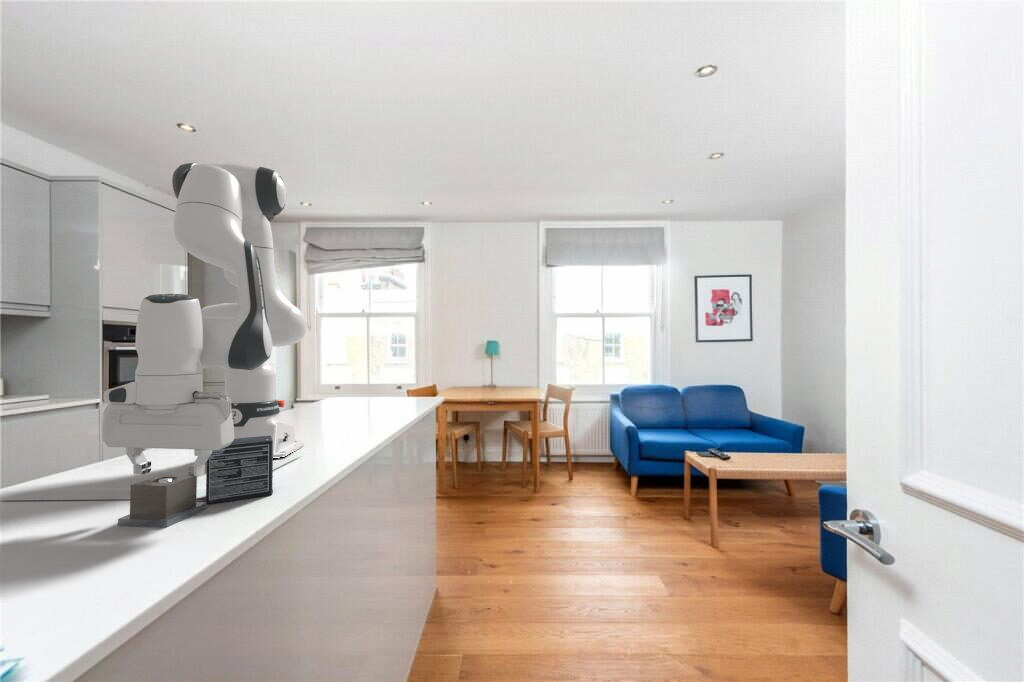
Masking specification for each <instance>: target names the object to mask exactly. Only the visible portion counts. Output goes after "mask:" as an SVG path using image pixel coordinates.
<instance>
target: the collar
mask: <svg viewBox="0 0 1024 682" xmlns="http://www.w3.org/2000/svg"><path fill="white" fill-rule="evenodd" d="M164 478H172V481H169V482H167V483H158V480H160V479H164ZM197 481H198V476H189V475H188V474H179V473H161V474H160V475H156V476H153V477H149V478H147V479H143V480H141V481H138V482H135V483H132V484H130V493H129V494H130V496H129V501H130V502H129V514H130V517H150V518H167V517H169V516H172V515H174V514H176V513H178V512H181V511H183V510H185V509H187V508H189V507H192V506H194V505H196V502H197V492H198V491H197V487H198V482H197Z"/></svg>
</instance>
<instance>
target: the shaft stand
mask: <svg viewBox="0 0 1024 682" xmlns="http://www.w3.org/2000/svg"><path fill="white" fill-rule="evenodd" d="M169 481H172V478H164V479H160V480H158V483H167V482H169ZM207 506H208V505H207V502H205V501H204V502H202V501H196V505H194V506H192V507H189V508H187V509H185V510H183V511H181V512H178V513H176V514H174V515H172V516H169V517H167V518H150V517H130V513H129V514H126V515H124V516H122V517H119V518H118V519H117V526H123V527H125V526H126V527H127V526H128V527H151V528H153V527H154V528H168V527H171V526H173V525H175V524H178V523H179V522H181V521H183V520H186V519H187V518H190V517H191V516H193V515H196V514H198V513H200V512H202V511H204V510H206V509H207Z"/></svg>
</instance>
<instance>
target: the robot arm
mask: <svg viewBox="0 0 1024 682" xmlns="http://www.w3.org/2000/svg"><path fill="white" fill-rule="evenodd" d="M171 180H172V181H171V182H172V189H173V193H174V195H175V197H176V199H177V201H176V207H175V210H174V211H175V213H174V217H173V233H174V237H175V238H176V239H175V240H176V241H177V242H178V243H179V245H180V246H181V247H182V248H183V250H185V251H186V252H187V253H188V254H190V255H191V256H192V257H194V258H196V259H198V260H200V261H202V262H204V263H207V264H209V265H213V266H215V267H217V268H220V269H223V276H224V279H225V280H226V281H227V282H228V283H229V284H230V285H232V286H233V287H236V288H237V290H238V291H237V292H238V299H239V303H236V302H231V303H230V302H224V303H217V304H211V305H206V306H204V307H203V308H202V307H201V304H200V300H199V298H198V297H196V296H194V295H190V294H184V293H183V294H182V293H164V294H163V293H157V294H150V295H148V296H145V297H143V298H142V300H141V302H140V305H139V309H138V313H137V319H136V328H135V350H136V353H137V356H138V362H137V366H136V369H135V371H134V373H135V374H134V375H135V376H134V378H135V379H134V381H131V382H129V383H125V384H122V385H118V386H116V387H113V388H108V389H107V390H105V391H104V392H103V401H104V403H106V404H107V405H106V406H105V408H104V410H103V413H102V422H101V423H102V425H101V437H102V438H101V439H102V441H103V443H104V445H106V446H107V447H108V448H126V451H125V452H126V453H125V454H126V456H127V457H128V459H129V461H130V462H131V464H132V465H133V467H132V468H133V471H132V472H133V474H134V475H146V474H149V473H150V472H151V471H152V467H151V466H152V461H149V460H147V458H146V456H145V453H144V452H145V451H147V449H166V450H167V449H169V450H194V451H193V452H194V456H195V457H196V459H195V460H194V463H193V464H191V465H188V466H187V467H188V468H187V471H188V472H187V475H189V476H197V477H200V476H203V475H204V474H205V473H206V464H207V460H208V459H209V457H210V455H211V454H212V450H219V449H222V448H225V447H227V446H229V445H230V444H231V443H232V442H233V440H234V439H236V438H247V437H258V436H269V435H270V436H271V437H272V440H273V457H282V456H286V455H288V454H290V453H291V454H293V453H295V452H296V451H298V450H300V449H301V448H302V447H305V443H304V442H303V441H301V440H300V441H299V440H295V436H296V435H295V427H294V425H293V424H292V423H291V422H290V421H288V420H287V419H286V418H285V417H283V416H282V415H281V414H280V413H281V410H280V408H285V406H286V401H285V399H276V398H277V397H276V392H277V389H276V386H277V373H276V370H275V369H274V367H272V366H271V365H270V364H269V363H268V362H267V361H268V360H269V359H270V358H271V355H272V350H273V348H274V347H277V348H278V347H284V346H286V347H287V346H291V345H295V344H298V343H299V342H301V340H303V338H304V336H305V334H306V332H307V328H308V327H307V326H308V324H307V320H306V316H305V314H304V313H303V311H302V310H300V309H299V307H297V306H296V305H294V304H292V302H291V301H289V299H288V298H287V297H286V296H285V294H284V293H283V291H282V290H281V287H280V285H279V282H278V280H277V273H276V266H275V249H274V238H273V232H272V231H273V230H272V226H271V222H272V221H273V220H274V219H275V217H276V216H278V215H280V213H282V211H283V210H284V209H285V206H286V202H287V198H288V197H287V195H288V194H287V189H286V185H285V183H284V180H283V178H282V176H281V175H280V174H279V173H278V172H277V171H276V170H273V169H271V168H268V167H263V166H259V167H256V166H252V165H246V164H240V163H230V162H229V163H199V162H189V163H188V162H187V163H183V164H180V165H179V166H178V167H177V168H176V169H175V170H174V171H173V173H172V179H171ZM204 369H223V374H224V393H222V392H219V391H215V392H209V391H208V392H207V391H204ZM294 451H295V452H294ZM292 452H293V453H292ZM291 454H290V455H291ZM288 456H289V455H288Z"/></svg>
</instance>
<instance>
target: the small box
mask: <svg viewBox="0 0 1024 682" xmlns="http://www.w3.org/2000/svg"><path fill="white" fill-rule="evenodd" d="M273 460H274V459H273V440H272V437H271V436H270V435H269V436H258V437H247V438H236V439H234V440H233V442H232V443H231V444H230V445H229V446H227V447H225V448H222V449H219V450H212V454H211V455H210V457H209V459H208V460H207V462H206V469H205V473H206V475H205V476H206V478H205V480H206V483H205V501H204V502H207V506H209V505H214V504H221V503H227V502H234V501H239V500H241V501H242V500H247V499H253V498H260V497H266V496H267V497H268V496H272V495H273V494H274V489H273V475H274V474H273V472H274V469H273V464H274V463H273V462H274V461H273Z"/></svg>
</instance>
